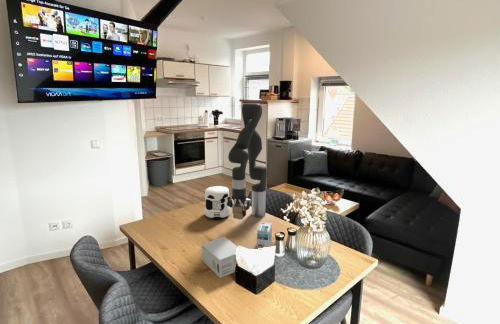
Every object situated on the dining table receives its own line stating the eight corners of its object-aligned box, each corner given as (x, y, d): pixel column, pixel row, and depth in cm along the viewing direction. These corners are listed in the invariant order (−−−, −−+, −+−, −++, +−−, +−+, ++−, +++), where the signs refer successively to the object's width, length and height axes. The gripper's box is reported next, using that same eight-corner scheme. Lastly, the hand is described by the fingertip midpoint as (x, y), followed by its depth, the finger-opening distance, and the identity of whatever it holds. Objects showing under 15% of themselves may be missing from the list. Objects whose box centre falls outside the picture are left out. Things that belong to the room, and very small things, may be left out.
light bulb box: (269, 250, 150) (269, 231, 148) (256, 249, 152) (256, 230, 149) (272, 240, 160) (272, 222, 158) (260, 239, 162) (260, 221, 159)
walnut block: (237, 214, 164) (237, 202, 163) (245, 215, 163) (245, 204, 161) (233, 218, 160) (233, 206, 158) (241, 219, 158) (241, 207, 156)
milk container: (220, 208, 205) (219, 184, 201) (236, 216, 192) (235, 190, 188) (199, 215, 193) (198, 189, 189) (214, 223, 181) (213, 196, 177)
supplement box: (201, 261, 141) (201, 243, 139) (224, 252, 148) (224, 235, 146) (220, 278, 128) (219, 259, 125) (244, 268, 135) (244, 250, 133)
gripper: (253, 185, 157) (253, 214, 162) (230, 182, 163) (230, 210, 167) (248, 190, 151) (248, 220, 155) (223, 186, 156) (224, 215, 161)
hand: (239, 215), depth 161 cm, fingers closed on walnut block, 5 cm apart
